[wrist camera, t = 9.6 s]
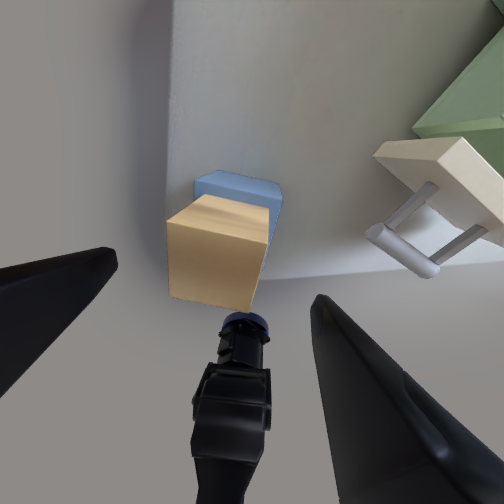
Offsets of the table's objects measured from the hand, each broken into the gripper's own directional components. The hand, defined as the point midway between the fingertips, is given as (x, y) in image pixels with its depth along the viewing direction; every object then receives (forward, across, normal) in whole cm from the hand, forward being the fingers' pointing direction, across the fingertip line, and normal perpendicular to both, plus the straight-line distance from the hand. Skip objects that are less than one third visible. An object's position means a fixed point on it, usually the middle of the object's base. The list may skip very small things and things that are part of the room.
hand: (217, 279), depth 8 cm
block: (+5, 0, 0) cm, 5 cm away
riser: (+11, 0, 0) cm, 11 cm away
